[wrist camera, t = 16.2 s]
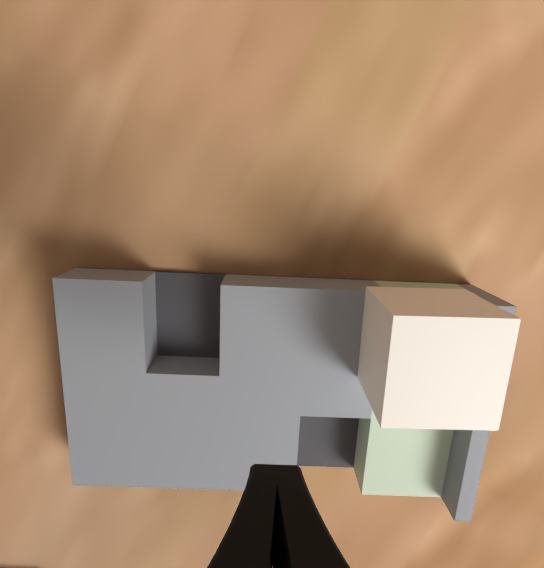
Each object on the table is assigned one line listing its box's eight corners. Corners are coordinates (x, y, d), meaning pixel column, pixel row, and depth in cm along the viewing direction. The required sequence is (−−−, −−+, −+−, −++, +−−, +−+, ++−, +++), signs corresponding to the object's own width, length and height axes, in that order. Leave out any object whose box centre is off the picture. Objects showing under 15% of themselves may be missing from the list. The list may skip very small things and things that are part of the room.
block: (357, 377, 19) (380, 427, 15) (365, 286, 17) (393, 315, 14) (450, 379, 19) (498, 430, 15) (465, 289, 17) (521, 318, 14)
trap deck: (91, 456, 22) (56, 508, 18) (75, 267, 19) (32, 286, 16) (438, 467, 22) (470, 521, 19) (471, 284, 20) (516, 306, 16)
